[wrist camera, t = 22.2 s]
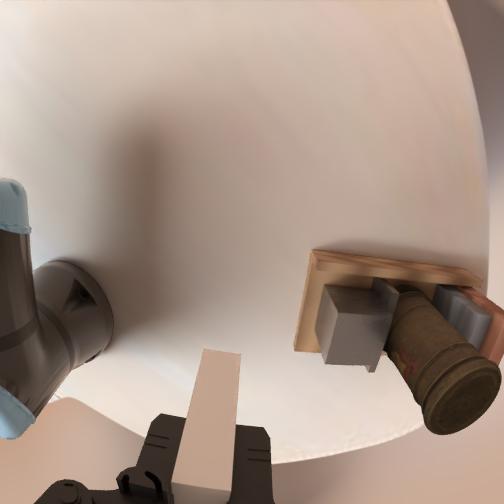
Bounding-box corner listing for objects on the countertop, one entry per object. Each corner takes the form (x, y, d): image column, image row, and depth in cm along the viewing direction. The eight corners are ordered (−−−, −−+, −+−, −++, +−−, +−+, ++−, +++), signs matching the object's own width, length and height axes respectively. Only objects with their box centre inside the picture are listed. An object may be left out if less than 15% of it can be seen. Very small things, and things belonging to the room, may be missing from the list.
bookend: (311, 343, 39) (320, 379, 32) (326, 268, 37) (342, 293, 29) (360, 346, 40) (378, 380, 32) (380, 274, 37) (405, 299, 30)
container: (396, 271, 37) (477, 347, 20) (439, 303, 38) (517, 377, 21) (354, 329, 39) (404, 429, 22) (400, 355, 40) (456, 445, 23)
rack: (293, 345, 41) (305, 415, 28) (311, 249, 38) (337, 295, 25) (438, 349, 42) (481, 403, 29) (465, 269, 38) (524, 307, 25)
